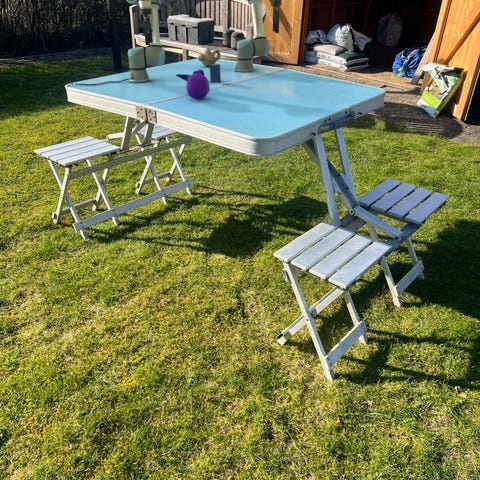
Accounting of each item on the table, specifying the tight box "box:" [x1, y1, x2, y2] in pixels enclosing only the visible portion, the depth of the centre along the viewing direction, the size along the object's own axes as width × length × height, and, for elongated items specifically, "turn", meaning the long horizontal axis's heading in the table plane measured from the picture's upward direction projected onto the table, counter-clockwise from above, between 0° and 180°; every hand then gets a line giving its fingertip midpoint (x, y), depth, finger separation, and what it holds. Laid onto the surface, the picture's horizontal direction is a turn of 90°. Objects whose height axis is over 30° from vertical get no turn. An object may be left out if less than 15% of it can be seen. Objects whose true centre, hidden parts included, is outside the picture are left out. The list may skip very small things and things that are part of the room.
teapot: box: [197, 47, 221, 68], centre depth 386 cm, size 21×12×15 cm, turn 120°
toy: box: [175, 69, 211, 100], centre depth 285 cm, size 16×18×27 cm
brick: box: [209, 63, 222, 83], centre depth 329 cm, size 8×5×12 cm, turn 93°
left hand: (149, 44), depth 298 cm, fingers open, 13 cm apart
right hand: (275, 32), depth 329 cm, fingers open, 13 cm apart
